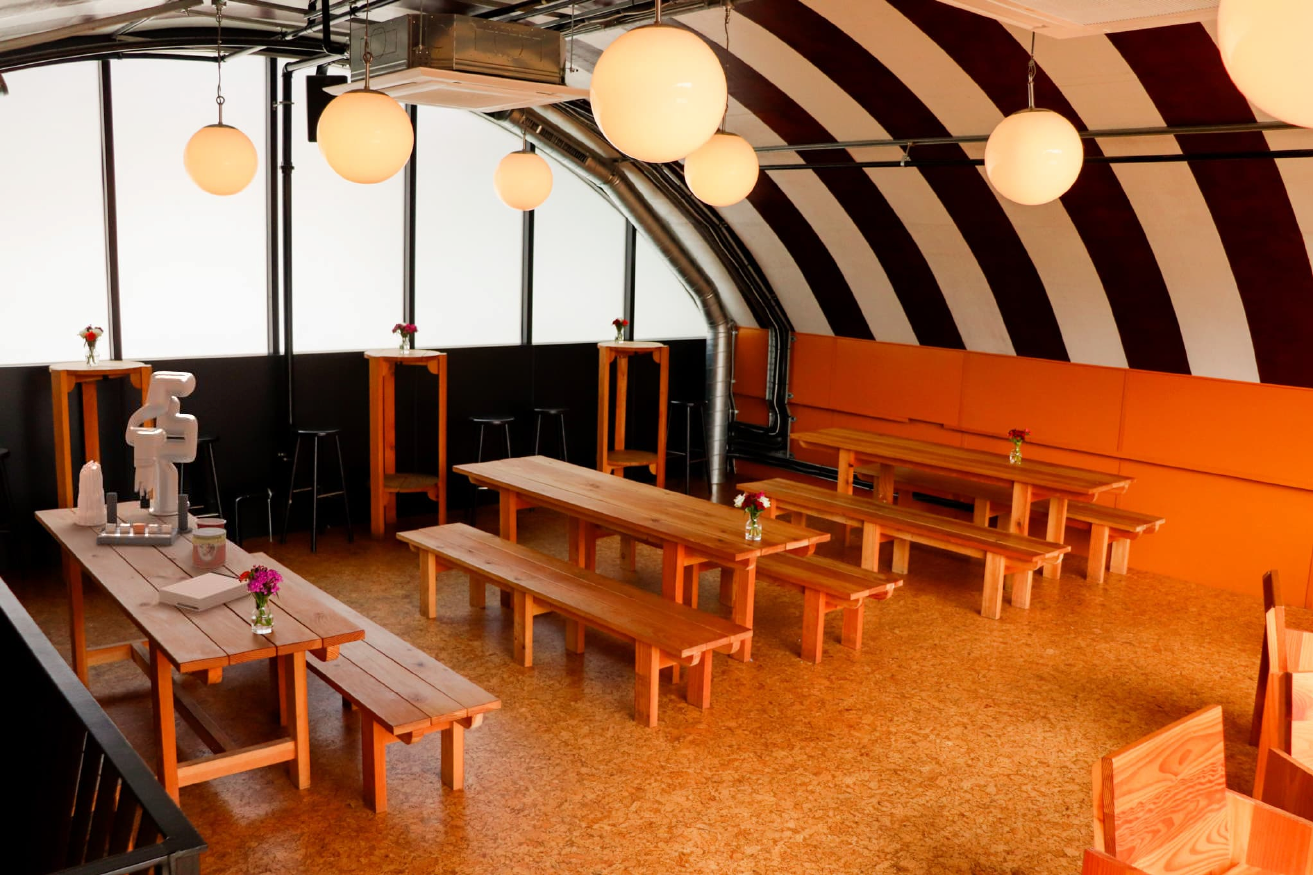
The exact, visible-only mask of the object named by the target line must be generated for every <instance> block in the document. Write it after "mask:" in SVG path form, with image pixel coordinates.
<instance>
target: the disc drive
mask: <svg viewBox="0 0 1313 875" xmlns="http://www.w3.org/2000/svg"><path fill="white" fill-rule="evenodd" d="M239 578H240V577H236V576H232V575H228V574H224V573H220V572H215V571H210V572H207V573H204V574H202V575H199V576H195V577H192V578H189V579H186V580H183V581H180V582H176V583H174V584H171V585H166V586H163V587H161V588H159V589H158V601H159V602H160V603H162V604H163V603H164V604H168V605H172V606H174V607H180V608H183V609H187V610H190V611H195V612H199V613H200V612H203V611H206V610H207V609H211V608H214V607H216V606H220V605H222V604H224V603H228V602H230V601H233V600H236V599H239V598H241V597H244V596H247V595H250V594H249V593H248V592H247V580H248V579H246V580H245V581H243V582H242V583H240V581H239Z"/></svg>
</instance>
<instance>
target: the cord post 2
mask: <svg viewBox="0 0 1313 875" xmlns="http://www.w3.org/2000/svg"><path fill="white" fill-rule="evenodd" d="M188 502H189V494H184V493H181V494H178V514H177V528H180V535H186V534H190V533H193V528H192V527H189V526H188V525H189V506H188Z"/></svg>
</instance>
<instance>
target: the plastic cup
mask: <svg viewBox="0 0 1313 875" xmlns="http://www.w3.org/2000/svg"><path fill="white" fill-rule="evenodd" d="M194 522H195V524H196V526H197V528H196V529H200V528H222V529H224V526H225V524H226V523H227V520H225V519H222V518H214V517H213V518H211V517H210V518H199V519H195V520H194Z"/></svg>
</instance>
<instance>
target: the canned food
mask: <svg viewBox="0 0 1313 875" xmlns="http://www.w3.org/2000/svg"><path fill="white" fill-rule="evenodd" d="M226 552H227V529H225V528H223V529H222V528H200V529H198V528H196V529H194V530H192V566H194V567H198V568H200V569H201V568H202V569H209V568H210V569H211V568H219V567H222V566H225V565H226V564H227V560H226V559H227V558H226V557H227V553H226Z"/></svg>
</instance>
